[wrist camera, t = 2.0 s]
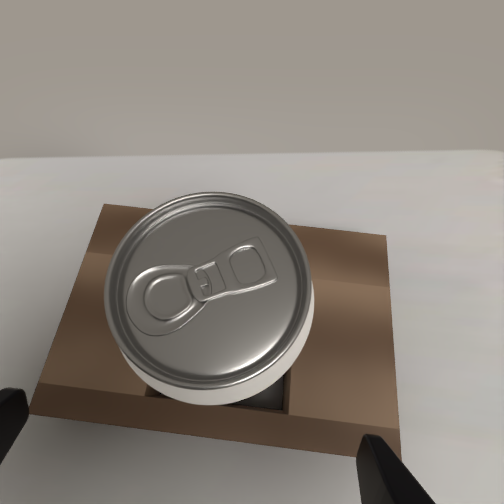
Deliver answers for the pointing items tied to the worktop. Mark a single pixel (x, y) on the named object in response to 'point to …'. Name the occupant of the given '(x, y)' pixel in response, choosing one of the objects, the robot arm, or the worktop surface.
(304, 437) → the socket block
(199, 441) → the worktop surface
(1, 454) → the robot arm
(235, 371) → the can
